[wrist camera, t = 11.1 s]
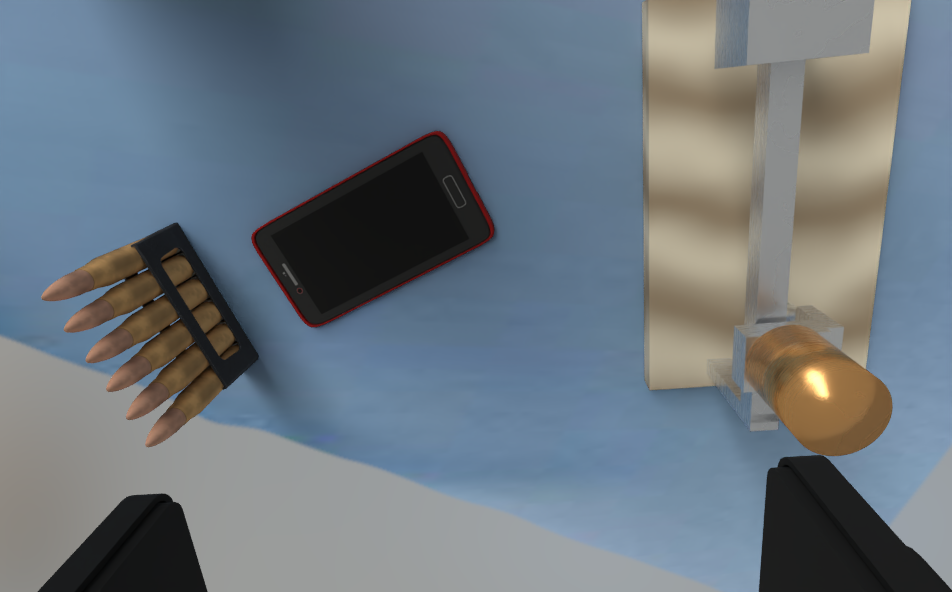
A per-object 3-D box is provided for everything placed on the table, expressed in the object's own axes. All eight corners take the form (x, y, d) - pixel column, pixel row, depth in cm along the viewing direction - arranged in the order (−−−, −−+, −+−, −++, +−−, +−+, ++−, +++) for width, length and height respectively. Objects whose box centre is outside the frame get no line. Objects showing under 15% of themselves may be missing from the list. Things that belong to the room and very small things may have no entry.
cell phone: (499, 233, 39) (499, 236, 38) (313, 327, 42) (309, 333, 41) (442, 124, 37) (441, 125, 36) (250, 231, 40) (244, 235, 39)
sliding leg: (691, 276, 37) (795, 373, 24) (781, 269, 37) (934, 364, 24) (690, 335, 38) (788, 458, 25) (776, 329, 38) (920, 451, 25)
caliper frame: (685, -6, 33) (751, -41, 24) (796, -18, 32) (904, -58, 24) (680, 374, 40) (729, 451, 31) (770, 368, 39) (845, 444, 31)
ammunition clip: (260, 357, 42) (171, 454, 31) (238, 367, 43) (142, 466, 31) (177, 221, 39) (45, 273, 28) (154, 232, 40) (15, 288, 28)
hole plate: (642, 2, 34) (648, -2, 33) (897, -26, 33) (916, -31, 32) (644, 380, 42) (649, 391, 40) (852, 366, 41) (865, 376, 39)
